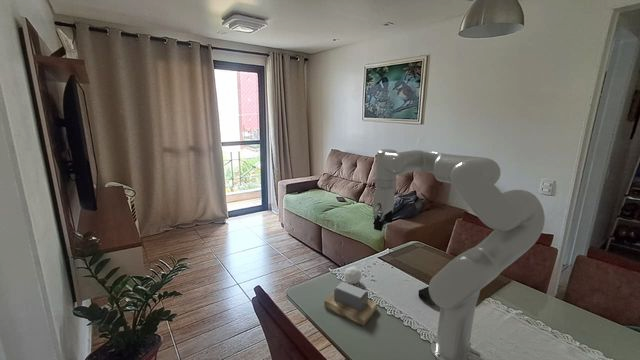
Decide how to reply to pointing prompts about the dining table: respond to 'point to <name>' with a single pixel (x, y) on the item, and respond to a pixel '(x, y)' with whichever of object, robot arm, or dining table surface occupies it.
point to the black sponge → (425, 295)
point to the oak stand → (351, 310)
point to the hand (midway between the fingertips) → (383, 225)
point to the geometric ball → (352, 275)
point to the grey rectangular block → (351, 296)
